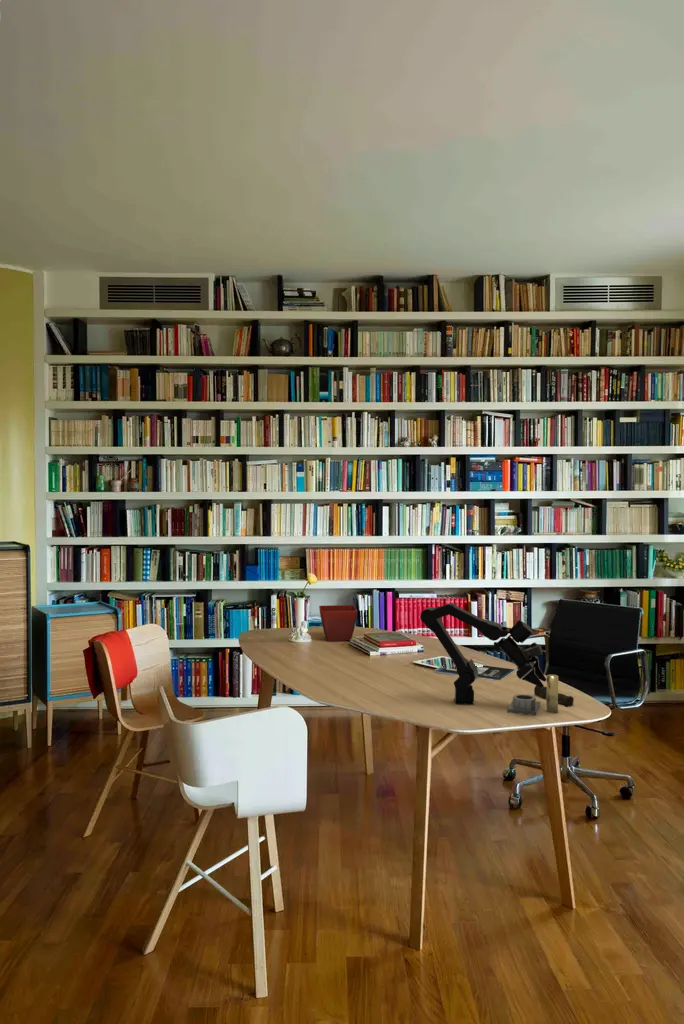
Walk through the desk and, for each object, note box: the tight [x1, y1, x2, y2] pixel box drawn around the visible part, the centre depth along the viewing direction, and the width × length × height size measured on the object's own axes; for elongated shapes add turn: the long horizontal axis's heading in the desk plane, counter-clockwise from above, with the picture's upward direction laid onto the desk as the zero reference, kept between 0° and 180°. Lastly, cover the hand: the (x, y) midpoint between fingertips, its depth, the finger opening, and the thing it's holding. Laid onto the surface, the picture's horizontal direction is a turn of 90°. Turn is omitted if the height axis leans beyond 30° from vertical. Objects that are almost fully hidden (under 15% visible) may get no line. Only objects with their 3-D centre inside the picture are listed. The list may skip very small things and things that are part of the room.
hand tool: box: [533, 685, 575, 708], centre depth 294 cm, size 19×4×5 cm, turn 27°
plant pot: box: [318, 604, 358, 642], centre depth 412 cm, size 19×19×17 cm
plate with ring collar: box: [506, 693, 541, 716], centre depth 282 cm, size 10×14×4 cm
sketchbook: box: [433, 664, 516, 681], centre depth 340 cm, size 22×30×2 cm
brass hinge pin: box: [545, 674, 559, 714], centre depth 279 cm, size 4×4×13 cm
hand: (544, 683), depth 280 cm, fingers open, 9 cm apart
